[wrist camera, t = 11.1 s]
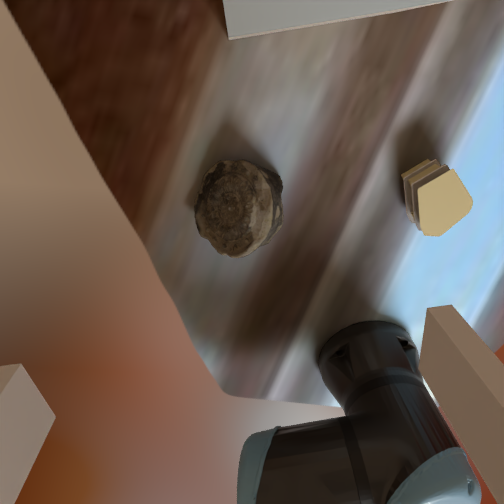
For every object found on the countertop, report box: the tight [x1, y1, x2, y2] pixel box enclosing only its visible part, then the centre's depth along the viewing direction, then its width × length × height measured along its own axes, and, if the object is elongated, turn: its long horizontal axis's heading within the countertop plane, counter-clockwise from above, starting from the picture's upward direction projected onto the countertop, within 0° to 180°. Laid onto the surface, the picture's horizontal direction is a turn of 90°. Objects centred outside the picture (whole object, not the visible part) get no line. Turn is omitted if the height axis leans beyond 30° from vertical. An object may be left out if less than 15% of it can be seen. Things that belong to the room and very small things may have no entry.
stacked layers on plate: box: [401, 159, 473, 236], centre depth 41 cm, size 10×9×6 cm
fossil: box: [194, 160, 284, 258], centre depth 40 cm, size 11×9×10 cm
